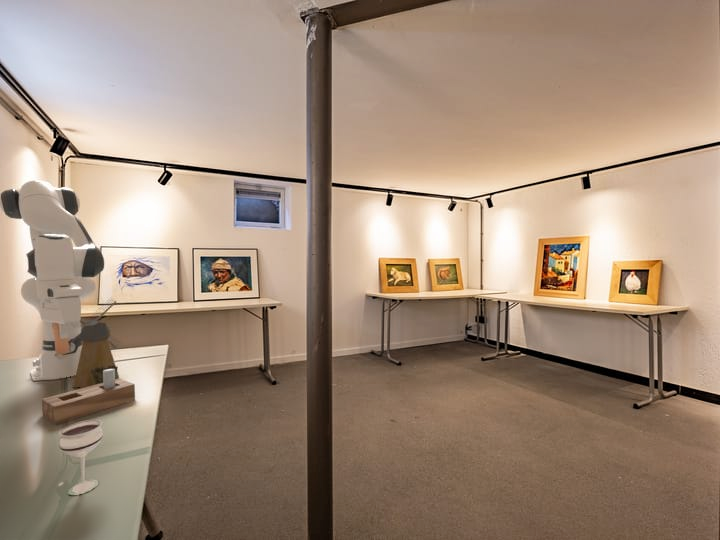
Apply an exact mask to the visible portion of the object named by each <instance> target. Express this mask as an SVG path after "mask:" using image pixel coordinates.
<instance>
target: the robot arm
mask: <svg viewBox="0 0 720 540" xmlns="http://www.w3.org/2000/svg"><path fill="white" fill-rule="evenodd" d="M80 206H81V202H80V198H79V197H78V195H77V194H76V193H75V191H74V190H73V189H72V188H69V187H68V188H67V187H60V188H59V187H54V186H52V185H51V184H50V183H49V182H46V181H42V180H37V179H36V180H29V181H26V182H25V183H23V185H21V188H18V189H15V188H11V189H7V190H4V191H2V192H1V193H0V209H1V211H2V212H3V214H5V216H6V217H8V218H9V219H16V220H17V219H18V220H22V221H23V222H24V223H25V224H26V225H27V226H28V227H29V235H30V241H31V245H32V247H31V248H32V250H30V251H29V252H28V253H26V254H25V255H26V257H27V268H28V269H27V273H28V274H30V275H31V276H33V277H32V278H28V279H26V280H25V281H24V282H23V284H22V285H21V288H20V294H21V298H22V299H23V300H24V301H25V302H26V303H28V304H29V305H31V306H33V307H34V308H35V309H36V310H37V311H38V313H39V315H40V316H39V317H40V319H41V321H42V325H43V337H44V339H43V341H42V345H41V346H42V351H41V352H40V354H39V356H38V357H37V358H36V360H35V359H34V360H32V367H34V368H33V369H30V371H29V373H30V377H31V379H32V381H33V382H37V381H47V380H48V381H49V380H50V381H51V380H59V379H60V378H61V379H65V378H66V377H67V378H70V376H71V377H75V376H76V372H77V368H78V363H79V358H80V354H81V349H82V345H83V342H82V341H80V336H79V337H78V338H77V339H76V340H75V341H77V340H78V341H77V342H75V341H74V342H72V343H71V344H70V346H71V347H70V346H69V348H70V349H71V350H70V349H69V351H70V353H69V354H68V353H66V355H65V354H62V355H61V354H60V355H57V356H55V354H56V352H55V339H54V327H53V322H54V323H59V327H60V332H59V338H61V339H64V338H68V343H69V342H70V341H72V340H73V339H74V338H75V337H76V336H78V335H79V334H80V333H81V330H82V324H81V323H80V322H79V321H80V320H81V318H82V300H83V299H87V298H88V297H91V296H92V295H94V292H95V291H96V288H97V287H96V282H95V280H94V278H95V277H97V276H98V275H99V274H101V273H102V272H103V271H104V269H105V259H104V255H103V253H102V251H101V250H100V249H99V247H98V246H97V245H96V244H95V242H94V241H93V239H92V237H91V236H90V234H89V233H88V230H87V228H86V227H85V226H84V224H83V223H82V220H80V219H79V217H78V216H76V215H77V213H78V212H79V209H80ZM73 243H74V245H75V246H73ZM81 321H82V320H81ZM74 323H75V324H74ZM77 323H78V324H77ZM71 324H72V325H71ZM73 324H74V325H73ZM76 325H77V326H76ZM80 325H81V326H80ZM75 327H76V328H75ZM79 341H80V342H81V343H80V342H79ZM74 343H75V344H76V345H75V344H74ZM73 346H75V347H76V346H77V347H76V348H75V347H73ZM72 347H73V348H72ZM57 357H58V358H60V359H58V358H57ZM61 357H62V358H63V359H62V358H61ZM61 359H62V360H61ZM35 367H36V368H35ZM74 375H75V376H74Z"/></svg>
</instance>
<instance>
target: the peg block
mask: <svg viewBox="0 0 720 540" xmlns="http://www.w3.org/2000/svg"><path fill="white" fill-rule="evenodd" d="M135 385H136V384H135V383H133V382H130V381H127V380H125V379H123V378H120V377H119V379H116V380H115V387H112V388H109V389H105V390H104V385H103V383H101V384H97V385H93V386H89V387H85V388H78V389H74V390H72V391H68V392H64V393H60V394H55V395H52V396H47V397H45V398H41V409H42V413H41V415H42V417H43V418H44V419H46V420H47V421H49V422H50V423H52V424H54V425H55V426H57V425H60V424H63V423H66V421H67V422H69V420H70V421H72V419H73V420H75V419H80V418H82V417H85V416H88V415H92V414H94V413H97V412H100V411H104V410H107V409H110V408H114V407H117V406H119V405H122V404H126V403H129V402H133V401H134V400H136V392H135V391H136V387H135Z"/></svg>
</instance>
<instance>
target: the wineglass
mask: <svg viewBox="0 0 720 540" xmlns="http://www.w3.org/2000/svg"><path fill="white" fill-rule="evenodd" d="M102 424H103V422H102V421H101V420H99V419H89V420H88V419H87V420H86V419H85V420H82V421H78V422H77V421H76V422H75V423H70V425H66V426H65V427H63V428H62V429H60V430H59V431H58V435H59V436H60V438H59V441H58V445H59V449H60V450H61V452H62V453H63V454H65V455H67V456H70V457H77V458H79V464H80V473H81V482H82V483H80V482H78V483H79V484H78V483H76V484H77V485H76V484H75V486H74V485H73V486H74V487H73V486H72V487H73V490H72V491H73V492H75V493H79V492H84V491H86V490H88V489H90V488H91V487H93V486H94V484H95V483H94V482H93V481H87V480H85V479H86V477H85V476H86V474H85V473H86V472H85V470H86V469H85V468H86V467H85V466H86V458H85V457H86V456H87V455H88V453H90V452H91V451H94V449H95V448H96V447H97V446H98V445H99V444H100V443H101V442H102V439H103V435H104V431H103V429H102V427H101V426H102Z"/></svg>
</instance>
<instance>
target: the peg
mask: <svg viewBox="0 0 720 540" xmlns="http://www.w3.org/2000/svg"><path fill="white" fill-rule="evenodd" d="M53 327H54V339H55V352H56V355H60V354H66V353H69V344H68V338H64V339H61V338H59V332H60V327H59V323H54V322H53Z"/></svg>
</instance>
